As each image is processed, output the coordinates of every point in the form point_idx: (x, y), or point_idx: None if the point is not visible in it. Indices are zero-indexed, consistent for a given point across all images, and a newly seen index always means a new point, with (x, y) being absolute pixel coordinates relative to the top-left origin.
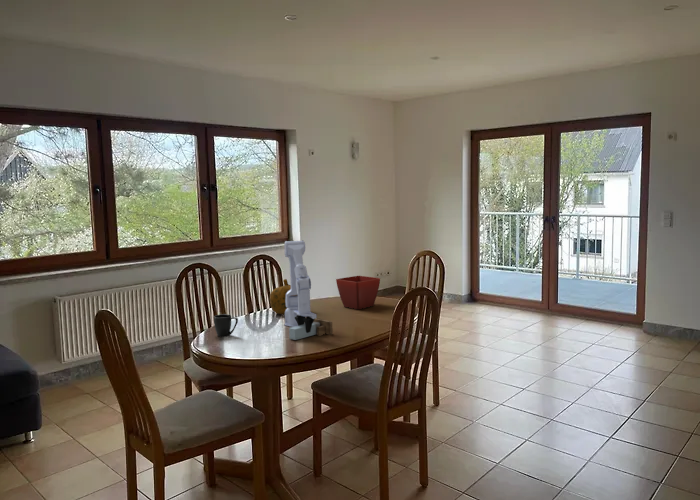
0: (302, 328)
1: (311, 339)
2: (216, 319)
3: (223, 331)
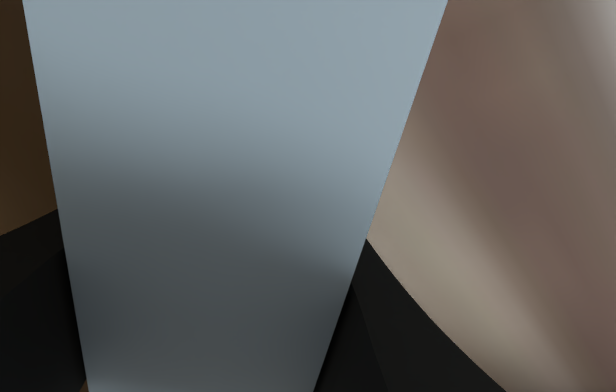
0: (65, 118)
1: (11, 90)
2: None
3: None
